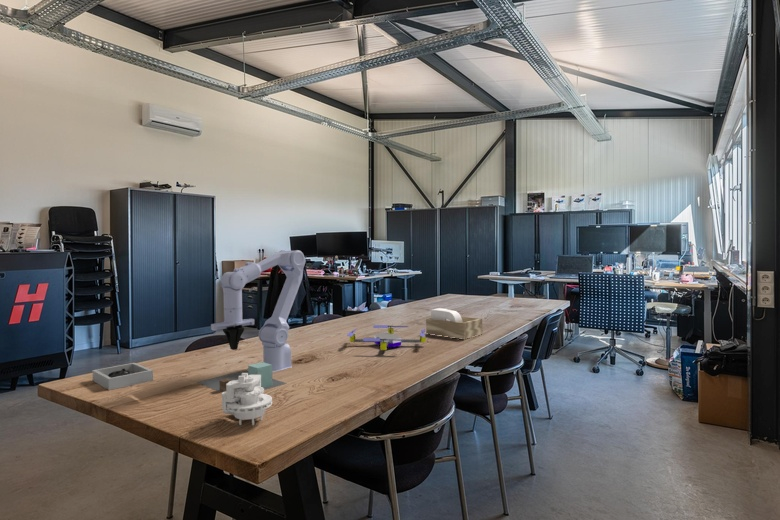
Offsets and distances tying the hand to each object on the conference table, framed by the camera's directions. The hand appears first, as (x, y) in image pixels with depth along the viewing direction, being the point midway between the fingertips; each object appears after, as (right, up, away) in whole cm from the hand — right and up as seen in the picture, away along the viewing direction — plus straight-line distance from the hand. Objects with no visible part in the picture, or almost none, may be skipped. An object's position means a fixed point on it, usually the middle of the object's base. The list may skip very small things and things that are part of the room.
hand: (233, 349), depth 148 cm
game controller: (-39, -11, +2) cm, 41 cm away
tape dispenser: (+82, -8, +75) cm, 111 cm away
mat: (+4, -11, -4) cm, 12 cm away
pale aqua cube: (+11, -10, -8) cm, 17 cm away
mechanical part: (+16, -11, -35) cm, 40 cm away
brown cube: (+2, -10, -12) cm, 16 cm away
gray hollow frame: (-38, -11, +1) cm, 39 cm away
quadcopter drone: (+51, -9, +50) cm, 72 cm away
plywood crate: (+84, -8, +75) cm, 112 cm away
